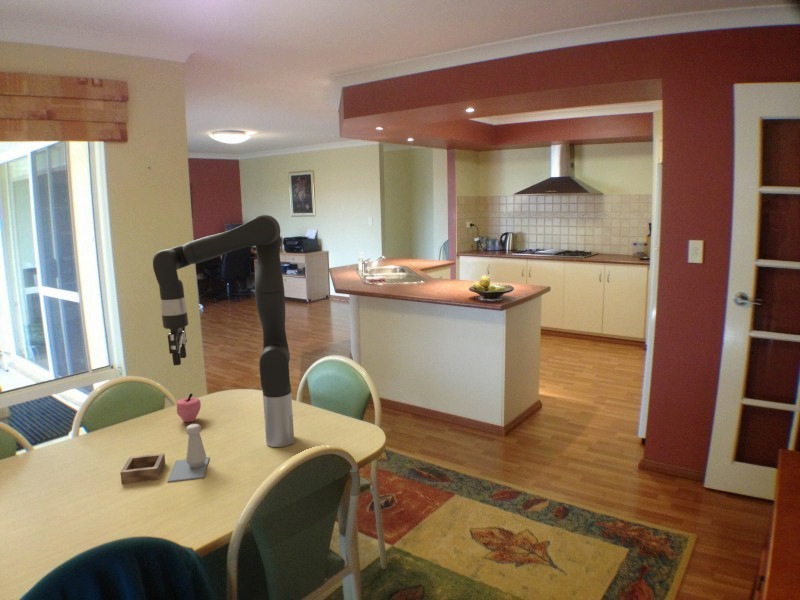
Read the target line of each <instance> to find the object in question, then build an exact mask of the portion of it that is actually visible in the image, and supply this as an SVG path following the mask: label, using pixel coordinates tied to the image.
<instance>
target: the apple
mask: <svg viewBox="0 0 800 600" xmlns="http://www.w3.org/2000/svg"><path fill="white" fill-rule="evenodd" d="M201 406H202V405H201V400H200V399H199V398H198V397H193V393H190V394H189V395H188V397H184V398H181V399H179V400H176V414H177V415H178V416H179V417H180V418H181V420H182V422H185V423H191V422H193V421H195V420H196V419H197V417H198V415H199V413H200V410H201Z"/></svg>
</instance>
